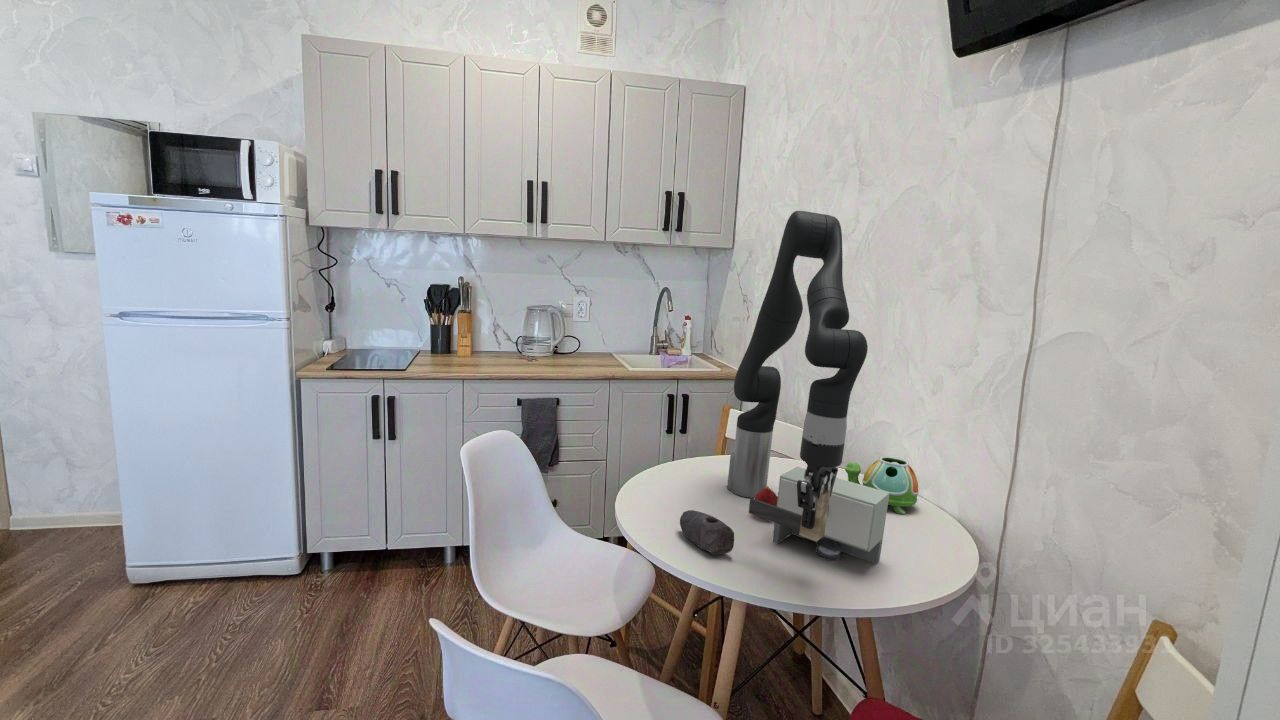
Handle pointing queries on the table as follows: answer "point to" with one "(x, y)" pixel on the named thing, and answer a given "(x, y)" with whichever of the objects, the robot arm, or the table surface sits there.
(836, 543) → the steel puck
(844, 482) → the cabinet
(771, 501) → the onion
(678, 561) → the table surface
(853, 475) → the turtle holder
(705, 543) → the perforated stone tool
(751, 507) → the blade tool
